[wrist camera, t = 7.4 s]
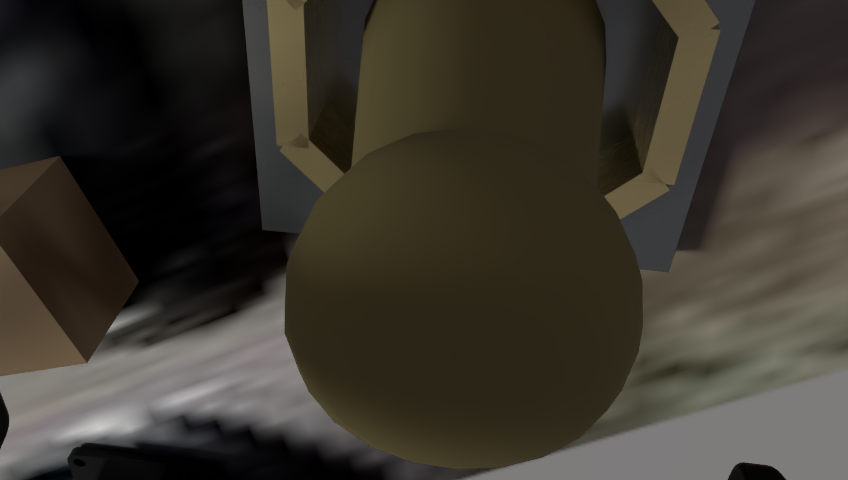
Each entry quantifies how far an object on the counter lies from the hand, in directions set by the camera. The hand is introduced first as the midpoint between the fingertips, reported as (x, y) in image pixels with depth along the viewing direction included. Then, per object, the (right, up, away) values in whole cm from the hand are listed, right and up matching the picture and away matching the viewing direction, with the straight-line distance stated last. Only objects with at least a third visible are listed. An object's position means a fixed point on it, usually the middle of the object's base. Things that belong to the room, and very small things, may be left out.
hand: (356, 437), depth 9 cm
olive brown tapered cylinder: (+2, +7, +10) cm, 12 cm away
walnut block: (-12, +3, +16) cm, 20 cm away
